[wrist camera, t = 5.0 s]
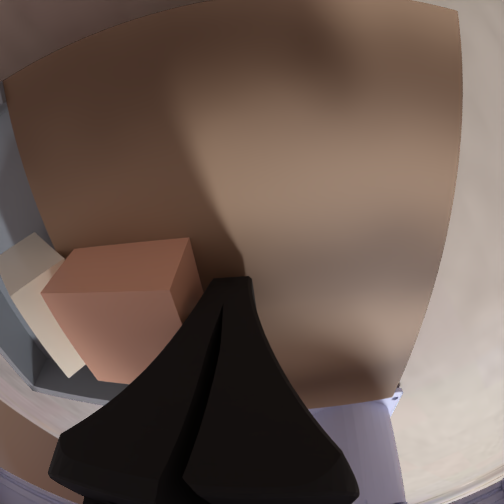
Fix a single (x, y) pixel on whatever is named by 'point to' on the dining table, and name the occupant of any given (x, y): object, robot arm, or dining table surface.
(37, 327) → the cream tile
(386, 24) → the tan slab
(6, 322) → the box
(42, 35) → the dining table surface
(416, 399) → the dining table surface
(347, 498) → the robot arm
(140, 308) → the terracotta tile
